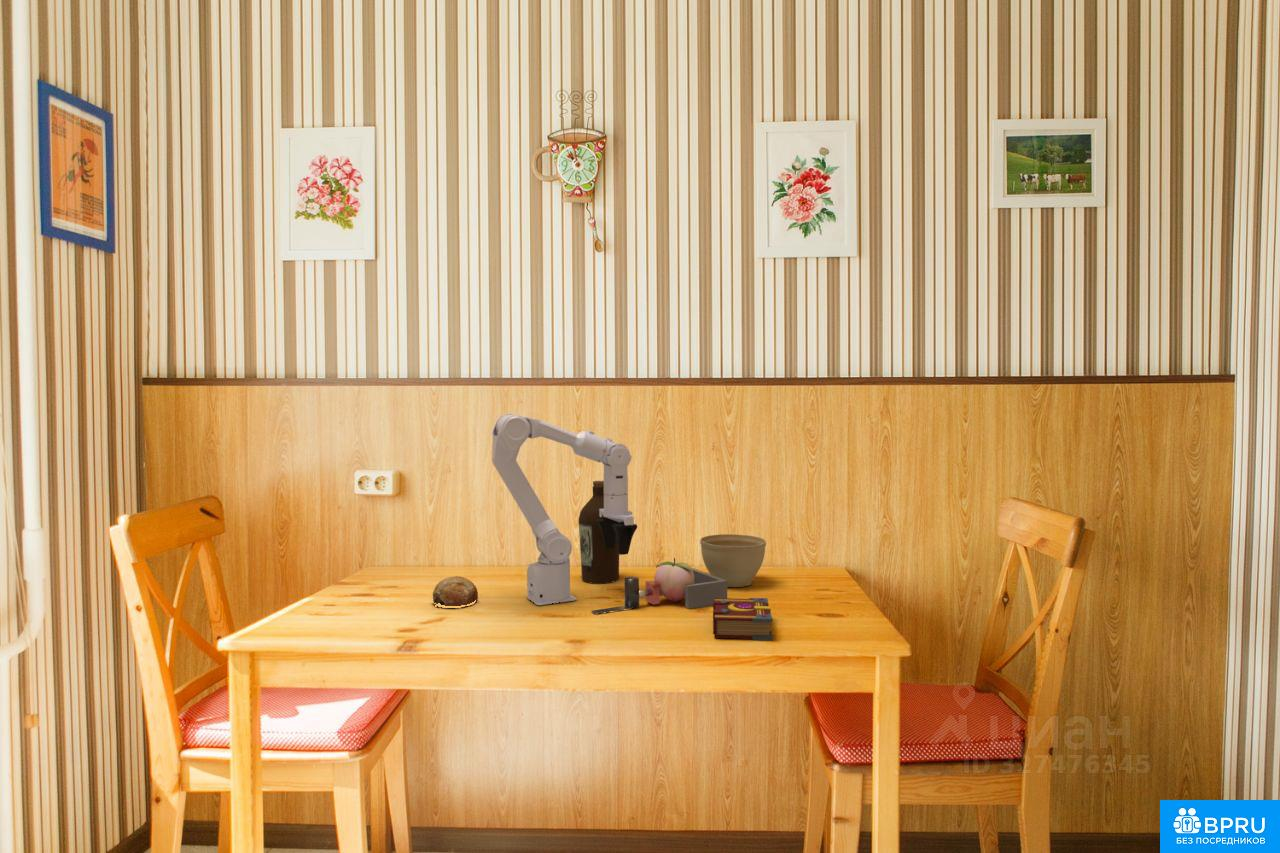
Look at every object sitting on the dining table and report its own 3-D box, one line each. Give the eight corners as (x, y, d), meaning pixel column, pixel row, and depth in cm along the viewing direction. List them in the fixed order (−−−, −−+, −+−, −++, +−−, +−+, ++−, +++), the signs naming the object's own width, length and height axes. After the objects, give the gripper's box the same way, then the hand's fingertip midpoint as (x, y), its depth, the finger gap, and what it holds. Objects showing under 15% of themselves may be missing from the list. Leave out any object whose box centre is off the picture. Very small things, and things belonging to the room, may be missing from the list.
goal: (688, 609, 169) (688, 586, 169) (656, 594, 182) (656, 573, 182) (727, 602, 174) (727, 580, 174) (693, 588, 187) (693, 568, 186)
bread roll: (429, 619, 176) (417, 591, 173) (456, 591, 184) (446, 563, 181) (463, 625, 171) (452, 596, 168) (490, 595, 179) (479, 567, 176)
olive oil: (610, 572, 204) (608, 478, 203) (628, 581, 195) (627, 482, 194) (572, 577, 199) (571, 480, 198) (589, 586, 190) (588, 484, 189)
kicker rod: (629, 608, 169) (628, 580, 168) (621, 604, 172) (621, 577, 172) (659, 603, 172) (659, 576, 172) (651, 599, 175) (651, 573, 175)
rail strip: (595, 614, 166) (595, 613, 166) (590, 612, 168) (590, 610, 168) (632, 609, 170) (632, 607, 170) (627, 606, 172) (627, 605, 172)
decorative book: (713, 640, 149) (712, 614, 148) (713, 616, 165) (713, 593, 164) (773, 642, 147) (773, 616, 147) (767, 617, 164) (767, 594, 163)
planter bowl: (745, 595, 180) (745, 548, 180) (687, 585, 190) (687, 541, 190) (777, 581, 193) (777, 538, 193) (722, 572, 203) (721, 531, 203)
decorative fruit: (700, 599, 177) (700, 555, 177) (689, 608, 170) (688, 563, 169) (662, 595, 181) (661, 552, 181) (649, 604, 173) (648, 559, 173)
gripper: (645, 496, 178) (645, 555, 179) (617, 489, 191) (618, 544, 192) (617, 498, 175) (618, 558, 175) (591, 491, 188) (592, 547, 188)
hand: (616, 551), depth 183 cm, fingers open, 7 cm apart
